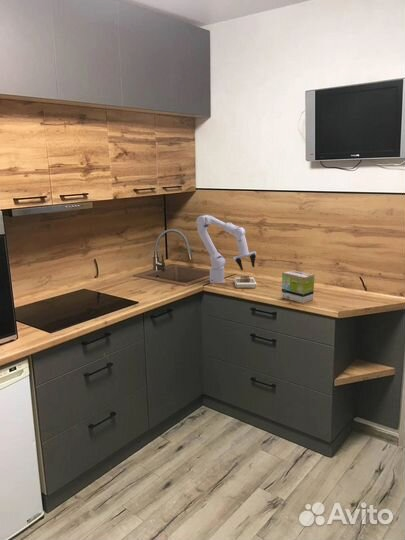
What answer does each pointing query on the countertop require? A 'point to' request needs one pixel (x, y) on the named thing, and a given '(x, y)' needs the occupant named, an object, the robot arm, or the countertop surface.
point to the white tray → (245, 285)
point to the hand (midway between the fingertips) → (247, 268)
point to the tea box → (297, 286)
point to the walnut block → (245, 279)
